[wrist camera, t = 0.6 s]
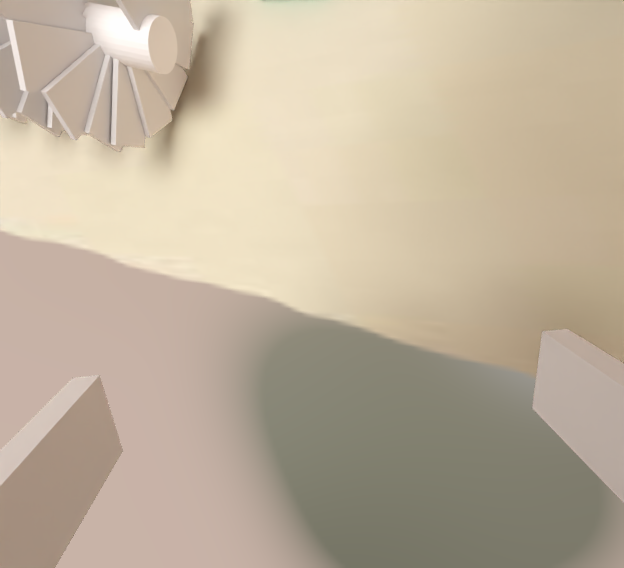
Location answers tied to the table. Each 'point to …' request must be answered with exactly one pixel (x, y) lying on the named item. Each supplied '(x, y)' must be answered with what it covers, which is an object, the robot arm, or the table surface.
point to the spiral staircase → (94, 65)
